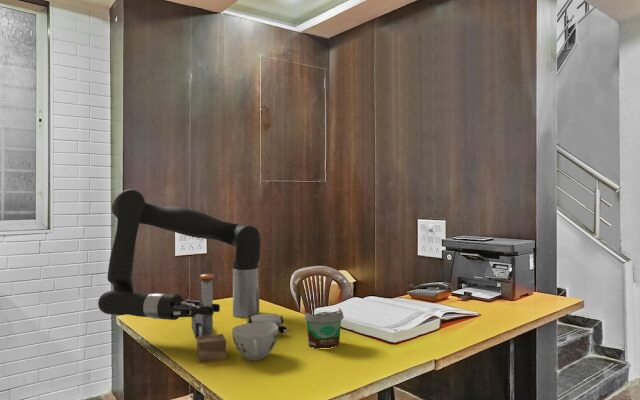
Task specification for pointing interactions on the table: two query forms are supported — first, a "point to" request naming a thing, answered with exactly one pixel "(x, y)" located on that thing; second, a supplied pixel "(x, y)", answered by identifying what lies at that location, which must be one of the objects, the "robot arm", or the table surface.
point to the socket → (211, 348)
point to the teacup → (255, 339)
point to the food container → (324, 329)
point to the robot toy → (269, 320)
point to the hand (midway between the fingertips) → (215, 309)
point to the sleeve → (195, 324)
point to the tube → (206, 305)
